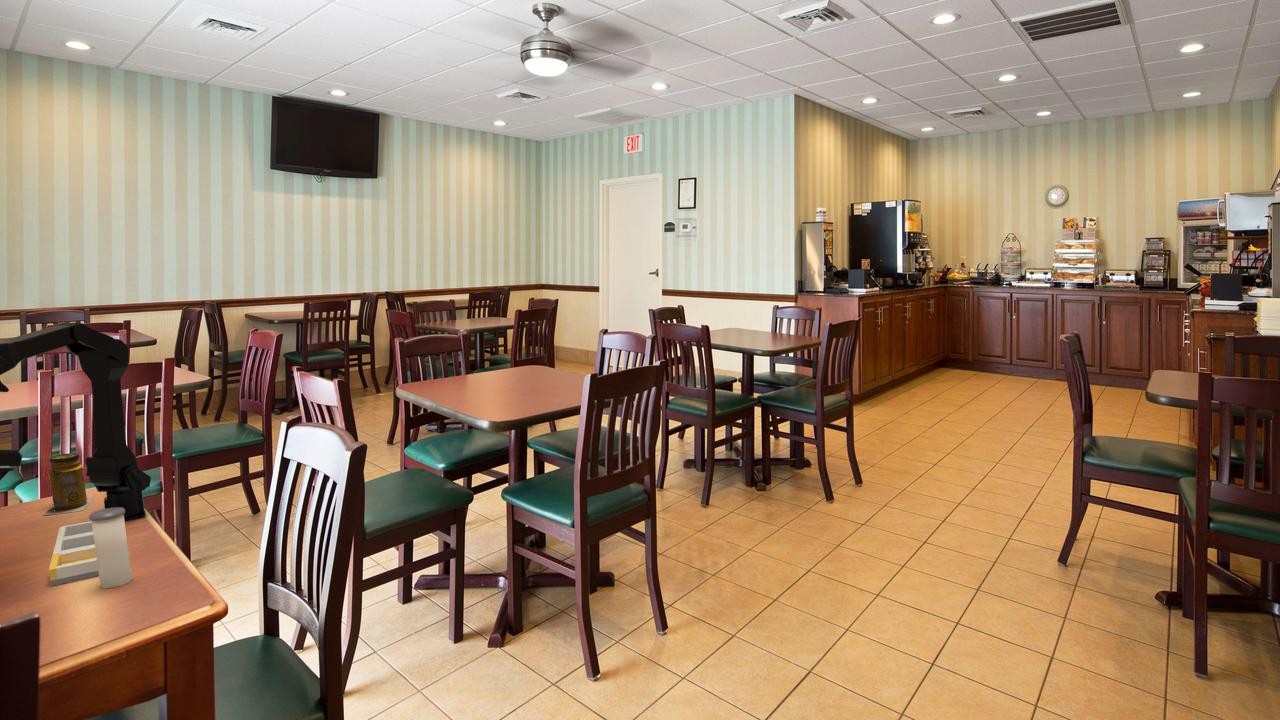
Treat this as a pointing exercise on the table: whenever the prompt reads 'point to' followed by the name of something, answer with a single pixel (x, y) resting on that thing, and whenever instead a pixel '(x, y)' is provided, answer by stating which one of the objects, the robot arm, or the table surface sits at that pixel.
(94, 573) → the socket bank
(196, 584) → the table surface
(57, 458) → the condiment
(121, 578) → the post
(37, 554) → the table surface
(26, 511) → the table surface
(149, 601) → the table surface
